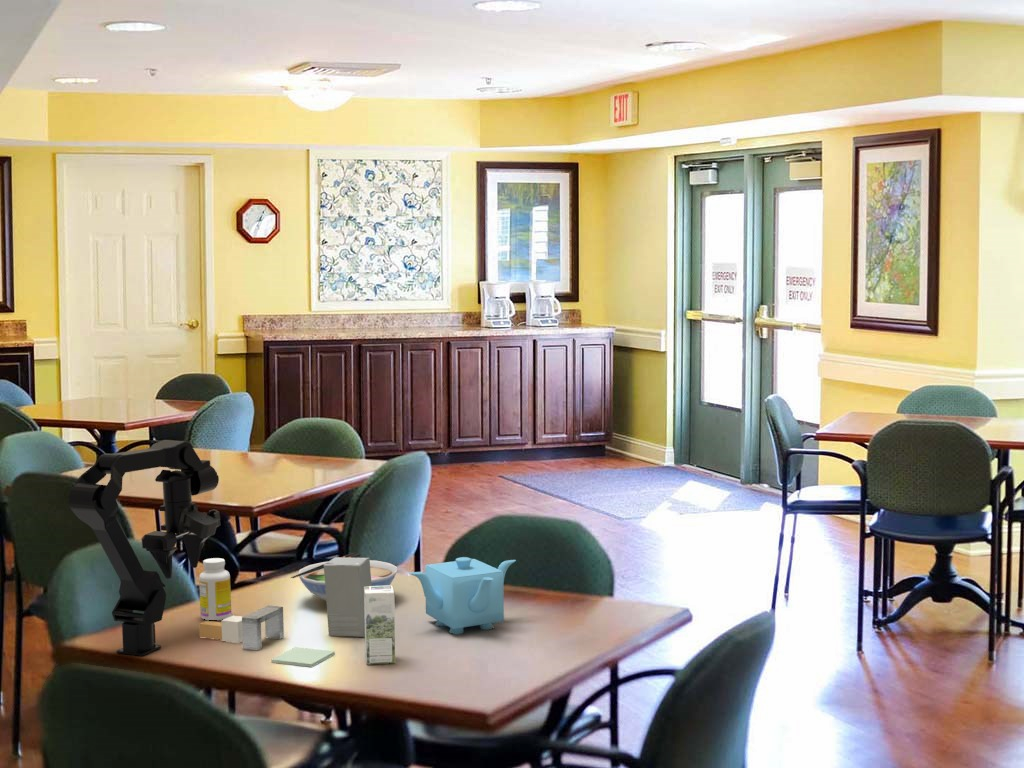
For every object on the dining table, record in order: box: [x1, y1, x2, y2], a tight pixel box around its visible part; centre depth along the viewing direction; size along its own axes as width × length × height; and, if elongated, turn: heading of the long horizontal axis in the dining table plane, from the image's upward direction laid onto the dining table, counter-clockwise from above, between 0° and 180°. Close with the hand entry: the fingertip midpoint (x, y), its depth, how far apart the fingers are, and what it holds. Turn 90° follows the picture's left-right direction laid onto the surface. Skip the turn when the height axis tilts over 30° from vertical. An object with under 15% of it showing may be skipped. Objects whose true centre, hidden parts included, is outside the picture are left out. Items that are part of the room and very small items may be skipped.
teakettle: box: [409, 556, 517, 635], centre depth 294 cm, size 19×19×15 cm
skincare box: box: [324, 556, 372, 638], centre depth 289 cm, size 8×7×16 cm
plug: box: [198, 615, 243, 644], centre depth 287 cm, size 4×10×4 cm, turn 68°
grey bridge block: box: [242, 604, 285, 651], centre depth 283 cm, size 10×4×6 cm, turn 158°
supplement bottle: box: [198, 557, 232, 621], centre depth 303 cm, size 7×7×13 cm
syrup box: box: [364, 584, 396, 665], centre depth 270 cm, size 6×6×14 cm
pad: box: [271, 646, 335, 668], centre depth 273 cm, size 9×9×1 cm
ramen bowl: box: [290, 552, 398, 601], centre depth 316 cm, size 25×23×8 cm
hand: (181, 572), depth 290 cm, fingers open, 9 cm apart
